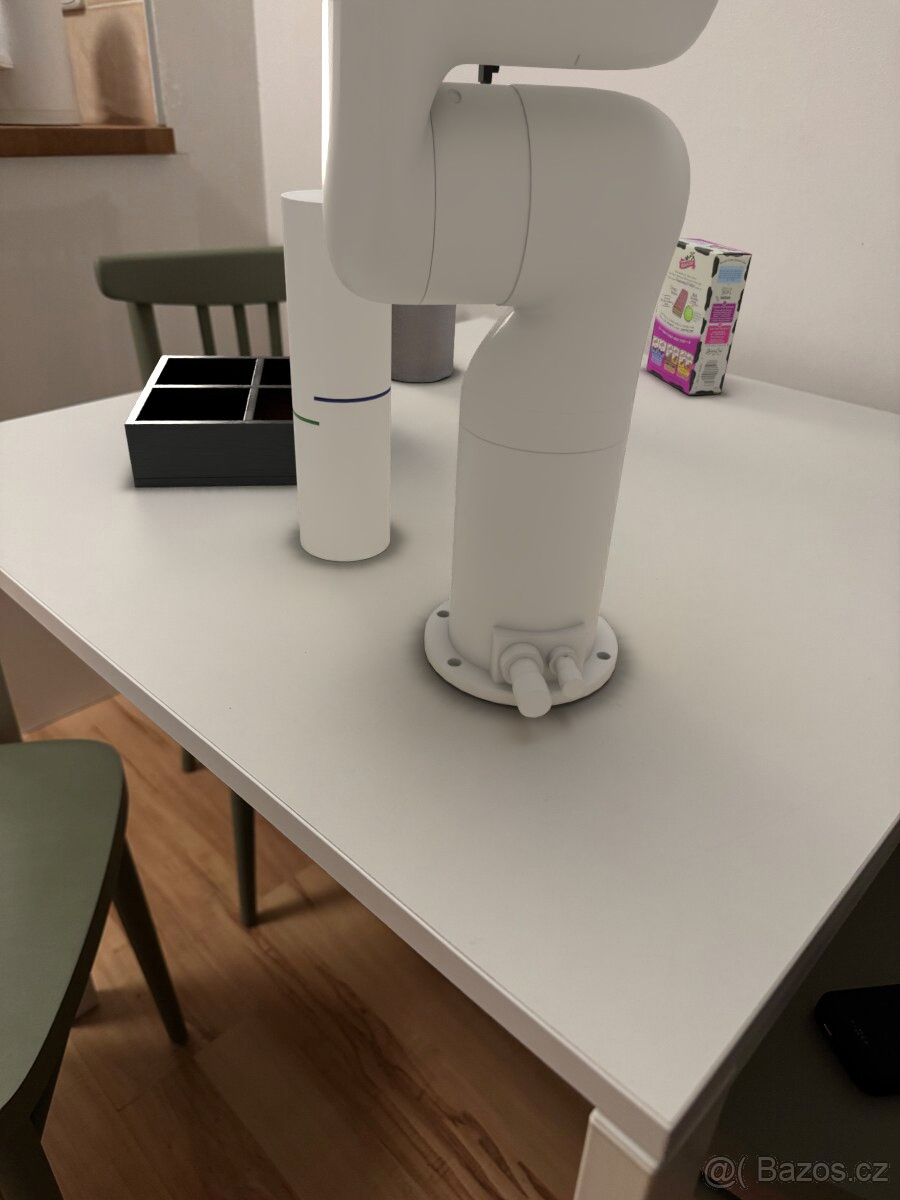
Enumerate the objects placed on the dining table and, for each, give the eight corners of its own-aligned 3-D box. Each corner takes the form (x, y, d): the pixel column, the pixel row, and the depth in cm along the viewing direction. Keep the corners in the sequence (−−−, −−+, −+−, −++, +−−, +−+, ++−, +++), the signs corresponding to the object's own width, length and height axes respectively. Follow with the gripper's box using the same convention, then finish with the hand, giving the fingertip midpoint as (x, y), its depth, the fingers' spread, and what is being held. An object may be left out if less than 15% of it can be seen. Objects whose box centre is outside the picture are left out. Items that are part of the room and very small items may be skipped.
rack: (366, 483, 77) (366, 422, 74) (134, 487, 74) (123, 424, 71) (358, 408, 94) (357, 356, 91) (169, 409, 91) (162, 355, 88)
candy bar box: (724, 394, 104) (755, 253, 95) (688, 396, 102) (717, 253, 94) (677, 368, 113) (702, 236, 104) (644, 369, 111) (666, 236, 103)
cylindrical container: (376, 566, 64) (375, 207, 51) (287, 554, 65) (263, 198, 52) (399, 525, 70) (404, 194, 57) (317, 514, 71) (303, 187, 58)
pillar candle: (373, 360, 110) (372, 237, 102) (446, 360, 111) (451, 238, 103) (381, 384, 101) (381, 251, 94) (460, 382, 103) (467, 253, 95)
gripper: (309, -227, 56) (320, 75, 65) (562, -204, 58) (539, 85, 67) (312, -194, 62) (321, 77, 71) (539, -175, 65) (521, 86, 73)
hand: (427, 80), depth 69 cm, fingers open, 9 cm apart
